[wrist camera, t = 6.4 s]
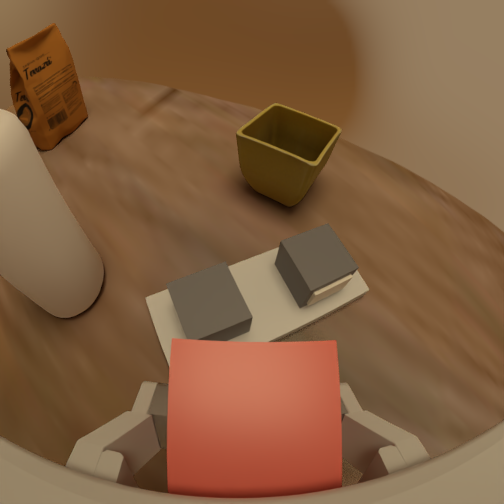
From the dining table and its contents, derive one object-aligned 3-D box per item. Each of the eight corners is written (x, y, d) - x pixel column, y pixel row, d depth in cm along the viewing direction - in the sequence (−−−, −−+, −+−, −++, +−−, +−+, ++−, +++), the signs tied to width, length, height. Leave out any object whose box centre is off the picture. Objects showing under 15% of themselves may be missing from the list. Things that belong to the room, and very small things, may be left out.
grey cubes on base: (178, 381, 22) (163, 374, 17) (149, 303, 26) (132, 278, 21) (363, 295, 28) (387, 270, 23) (324, 236, 31) (339, 204, 26)
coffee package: (26, 148, 38) (-10, 57, 20) (68, 111, 45) (45, 25, 26) (48, 156, 37) (7, 50, 18) (95, 116, 43) (71, 16, 24)
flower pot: (267, 156, 38) (274, 101, 30) (324, 182, 36) (343, 127, 28) (232, 193, 34) (233, 132, 26) (297, 226, 32) (316, 166, 24)
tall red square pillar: (280, 449, 11) (341, 489, 4) (198, 449, 11) (168, 495, 4) (279, 376, 13) (336, 340, 7) (200, 374, 13) (171, 338, 6)
